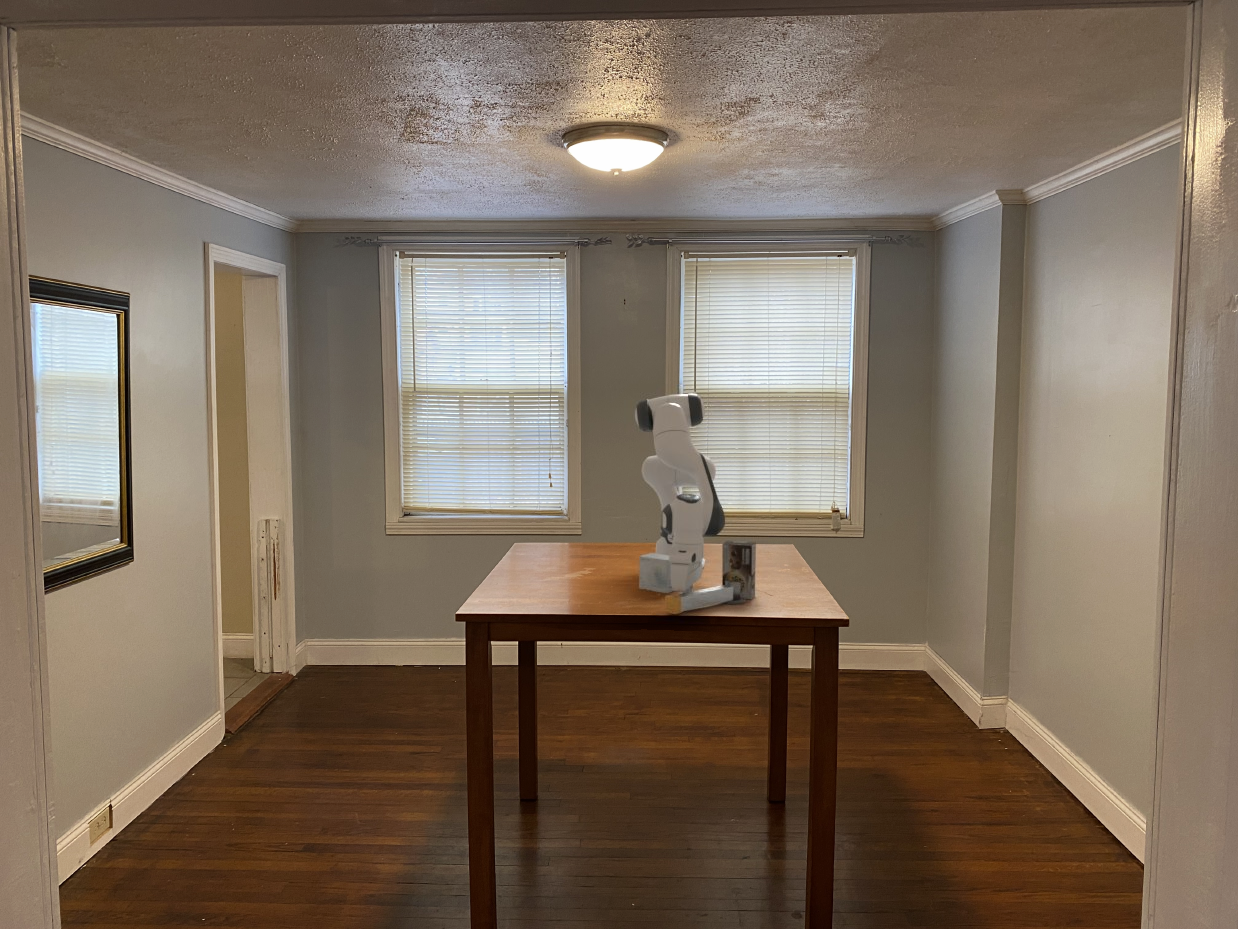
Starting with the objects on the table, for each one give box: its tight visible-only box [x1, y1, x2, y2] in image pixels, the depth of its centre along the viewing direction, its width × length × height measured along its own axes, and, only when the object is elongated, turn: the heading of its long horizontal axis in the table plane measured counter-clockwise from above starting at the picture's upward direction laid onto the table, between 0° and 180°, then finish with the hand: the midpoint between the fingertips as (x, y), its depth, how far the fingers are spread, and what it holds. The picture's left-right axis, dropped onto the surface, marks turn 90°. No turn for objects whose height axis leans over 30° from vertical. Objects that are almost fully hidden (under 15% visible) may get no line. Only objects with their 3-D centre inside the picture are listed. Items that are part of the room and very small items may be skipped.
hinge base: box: [722, 597, 746, 606], centre depth 257 cm, size 7×7×1 cm
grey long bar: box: [664, 580, 741, 615], centre depth 249 cm, size 28×4×5 cm, turn 132°
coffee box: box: [721, 540, 757, 600], centre depth 264 cm, size 9×6×16 cm
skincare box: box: [638, 552, 675, 594], centre depth 272 cm, size 10×6×10 cm, turn 53°
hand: (687, 600), depth 252 cm, fingers closed
